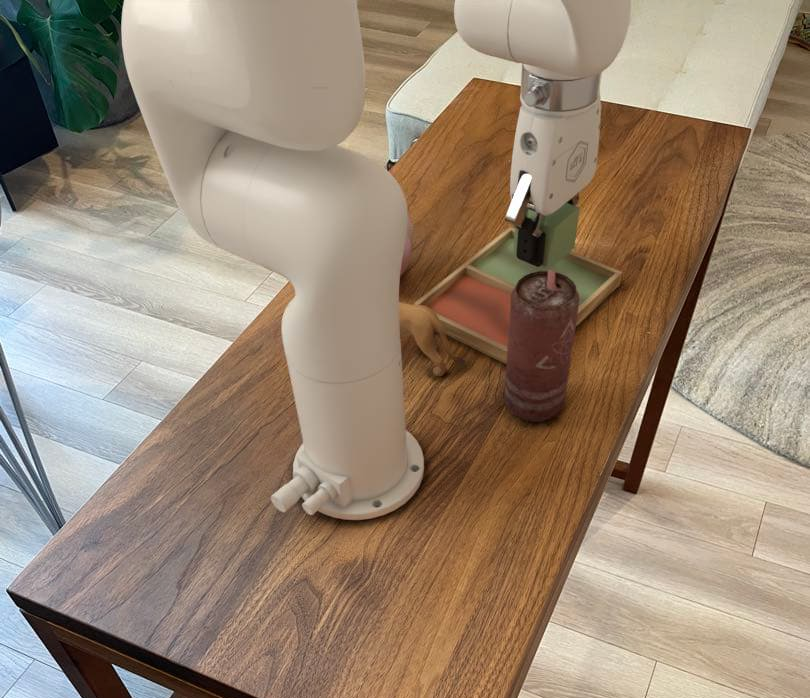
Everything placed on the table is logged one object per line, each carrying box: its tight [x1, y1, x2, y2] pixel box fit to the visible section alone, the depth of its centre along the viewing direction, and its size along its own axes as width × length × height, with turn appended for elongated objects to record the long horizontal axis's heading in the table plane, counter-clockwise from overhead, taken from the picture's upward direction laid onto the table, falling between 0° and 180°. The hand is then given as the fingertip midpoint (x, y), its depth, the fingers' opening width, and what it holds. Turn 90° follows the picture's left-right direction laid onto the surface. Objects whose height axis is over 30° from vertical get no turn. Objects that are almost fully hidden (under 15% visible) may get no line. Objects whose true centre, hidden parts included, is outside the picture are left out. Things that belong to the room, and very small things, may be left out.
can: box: [503, 270, 579, 423], centre depth 80 cm, size 6×6×14 cm
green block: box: [513, 203, 580, 269], centre depth 92 cm, size 5×5×5 cm
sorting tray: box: [412, 226, 623, 365], centre depth 94 cm, size 19×16×2 cm
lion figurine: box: [399, 300, 467, 378], centre depth 87 cm, size 15×5×9 cm, turn 72°
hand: (544, 247), depth 94 cm, fingers closed on green block, 5 cm apart
